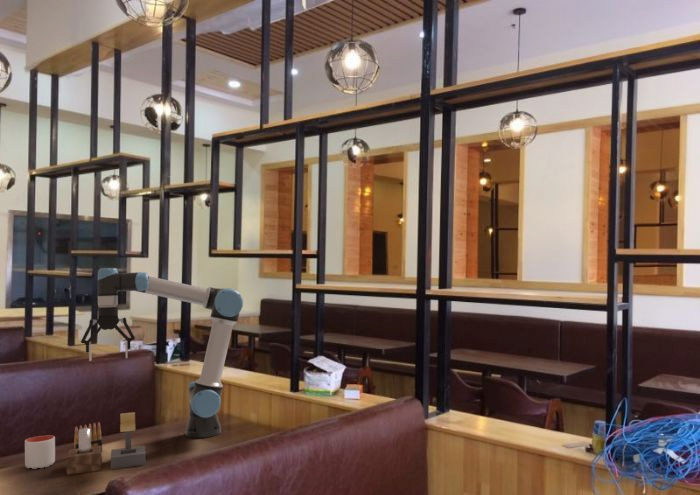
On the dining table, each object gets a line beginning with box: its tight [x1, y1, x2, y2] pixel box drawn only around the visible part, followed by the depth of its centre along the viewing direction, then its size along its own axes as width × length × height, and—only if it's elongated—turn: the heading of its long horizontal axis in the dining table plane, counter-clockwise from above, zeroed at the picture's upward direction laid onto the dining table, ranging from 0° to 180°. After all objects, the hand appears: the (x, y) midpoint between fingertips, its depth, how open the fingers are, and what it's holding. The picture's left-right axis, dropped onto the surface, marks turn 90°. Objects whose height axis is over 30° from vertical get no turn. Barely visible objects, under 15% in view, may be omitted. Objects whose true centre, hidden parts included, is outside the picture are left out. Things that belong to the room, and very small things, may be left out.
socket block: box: [110, 431, 147, 470], centre depth 227 cm, size 12×12×14 cm
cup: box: [24, 434, 56, 470], centre depth 226 cm, size 10×10×10 cm
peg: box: [78, 427, 92, 454], centre depth 222 cm, size 4×4×14 cm
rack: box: [66, 445, 103, 475], centre depth 221 cm, size 11×11×6 cm
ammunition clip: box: [73, 421, 103, 449], centre depth 239 cm, size 11×2×12 cm, turn 135°
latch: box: [119, 411, 136, 433], centre depth 219 cm, size 5×10×4 cm, turn 20°
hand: (108, 359), depth 244 cm, fingers open, 13 cm apart
